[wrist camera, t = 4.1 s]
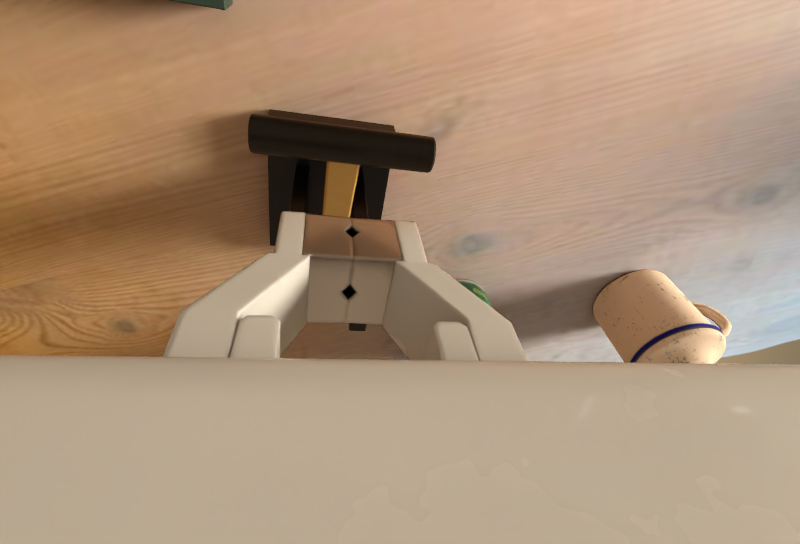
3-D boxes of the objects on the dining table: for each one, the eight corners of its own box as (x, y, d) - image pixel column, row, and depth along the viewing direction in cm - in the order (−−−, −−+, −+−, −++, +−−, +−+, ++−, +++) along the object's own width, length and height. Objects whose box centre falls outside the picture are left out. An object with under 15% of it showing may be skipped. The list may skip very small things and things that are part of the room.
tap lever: (252, 90, 13) (243, 150, 12) (434, 116, 14) (439, 172, 13) (276, 270, 26) (273, 307, 25) (372, 276, 27) (373, 311, 26)
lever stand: (269, 108, 29) (233, 213, 19) (393, 125, 31) (424, 228, 21) (272, 236, 36) (246, 364, 26) (373, 243, 38) (389, 365, 27)
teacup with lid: (582, 329, 50) (636, 417, 41) (598, 273, 44) (665, 361, 35) (678, 313, 50) (752, 397, 41) (707, 256, 44) (800, 338, 35)
